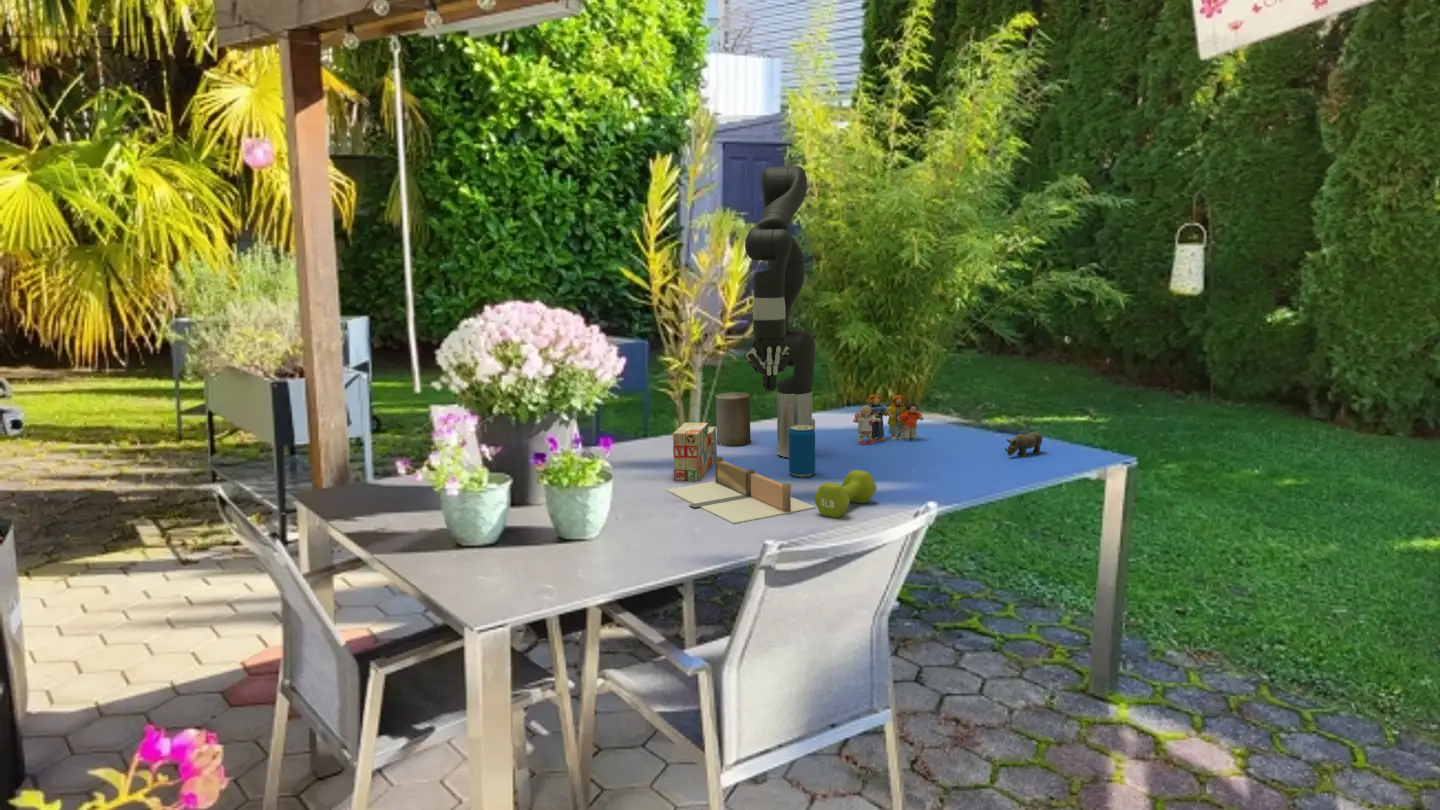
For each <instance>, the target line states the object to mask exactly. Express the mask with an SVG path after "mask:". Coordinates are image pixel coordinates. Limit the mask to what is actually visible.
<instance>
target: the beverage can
mask: <svg viewBox="0 0 1440 810" xmlns="http://www.w3.org/2000/svg"><path fill="white" fill-rule="evenodd" d="M788 472H789V474H791V476H793V475H796V476H809V477H811V476H810V475H812V476H813V474H815V473H816V430H815V431H814V429H813V426H809V425H795V426H791V430H790V431H789V458H788ZM796 476H795V477H796Z"/></svg>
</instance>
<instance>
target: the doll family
mask: <svg viewBox="0 0 1440 810" xmlns="http://www.w3.org/2000/svg"><path fill="white" fill-rule="evenodd" d="M868 397H869V398H867V400H865V402H868V403H869V404H870V405H863V406H862V407H861V409H860V411H858V412H857V411H855V413H854V419H853V420H852V422H853V423H856V424H857V423H858V428H857V433H858V435H857V437H858V438H860V439H859V441H858V445H861V446H866V445H874V444H876V442H883V441H885V440H886V439H885V438H884V437H885V431H884V417H887V416H888V420H887V425H888V426H889V427H888V435H890V437H889V439H891V440H894V441H895V440H902V441H903V442H907V443H908V442H912V443H913V442H915V443H916V442H918V441H919V440H918V439H917V427H918V425H917V423H918V421H924V417H923V413H921V412H917V411H918V404H917V403H916V402H912V401H911V402H908V403H906V406H904V405H905V403H904V402H905V397H904V396H902V395H900V394H898V395H895V396H894V397H893V398H892V399H891V402H890V406H888V407H887V406H886V405H883V404H881V402H882V401H881V400H883V397H882V396H881V395H879V393H876V394H873V393H872V394H869V395H868ZM902 434H903V435H902ZM865 437H866V438H867V440H865Z"/></svg>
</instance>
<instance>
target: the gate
mask: <svg viewBox="0 0 1440 810" xmlns="http://www.w3.org/2000/svg"><path fill="white" fill-rule="evenodd" d="M754 473H755V472H754ZM791 486H792V485H791V483H787V482H784V483H782V482H779V481H776V479H772V478H769V477H766V476H764V475H763V474H762V475H761V474H759V473H755V474H751V497H754V498H756V499H758V500H761V501H763V502H765V503H767V504H770V505H772V506H774V507H777V508H779V509H781V510H783V511H791V497H792V496H791V495H792V491H791V490H792V489H791Z"/></svg>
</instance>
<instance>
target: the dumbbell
mask: <svg viewBox="0 0 1440 810" xmlns="http://www.w3.org/2000/svg"><path fill="white" fill-rule="evenodd" d="M876 491H877V485H876V482H875V480H874V478H873V476H872V474H871V473H870V472H869V471H866V470H860V469H853V470H851V471H849V472H848V473H847V474H846V476H845V478H844V479H843V481H842V484H839V483H837V482H824V483H822V484H821V485H820V486H819V487H818V488H817V491H816V492H815V495H814V497H813V500H814V504H815V505H816V506H815V507H816V508H817V509H818V512H819V514H820V515H822V516H823V517H829V518H835V519H838V518H840V517H842V516H843V515H844V514H845V512H846V510H847V509H848V508H849V505H850V502H851V503H855V502H856V504H862V503H864V504H867V503H869V502H870V501H871V500H872V498H873V497H874V495H875V493H876Z"/></svg>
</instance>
